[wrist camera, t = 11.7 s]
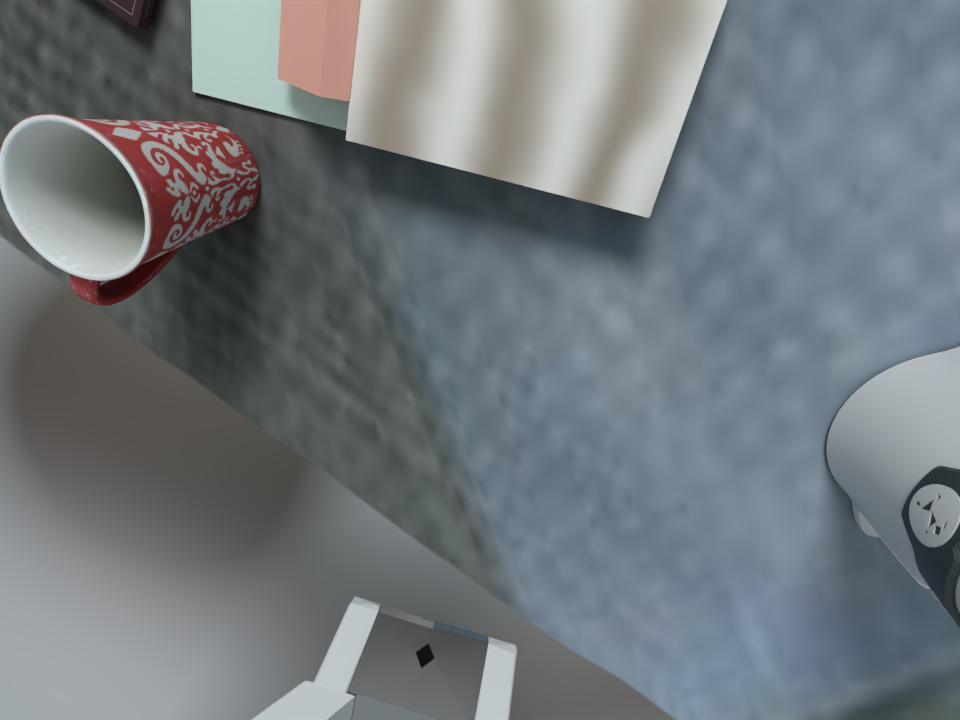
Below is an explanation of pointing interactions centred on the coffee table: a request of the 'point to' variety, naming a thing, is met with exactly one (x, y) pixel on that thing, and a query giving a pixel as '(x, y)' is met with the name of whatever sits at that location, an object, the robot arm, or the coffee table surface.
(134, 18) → the chocolate bar
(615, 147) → the striped beige block
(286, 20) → the salmon pink eraser
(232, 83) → the mat
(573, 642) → the coffee table surface
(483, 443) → the coffee table surface
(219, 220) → the mug
